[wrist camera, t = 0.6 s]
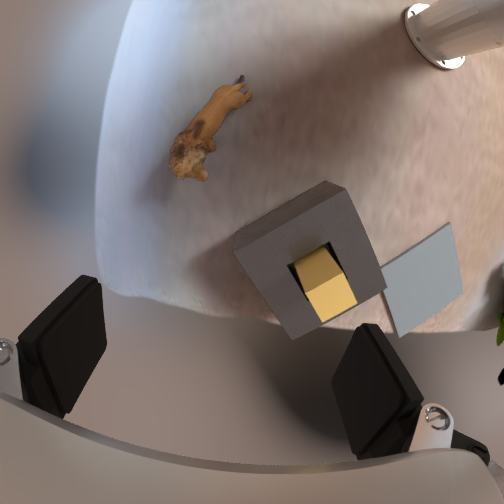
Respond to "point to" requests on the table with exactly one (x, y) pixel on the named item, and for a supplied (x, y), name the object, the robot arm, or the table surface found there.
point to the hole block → (301, 243)
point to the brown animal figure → (204, 132)
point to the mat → (422, 280)
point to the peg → (324, 283)
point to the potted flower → (500, 328)
